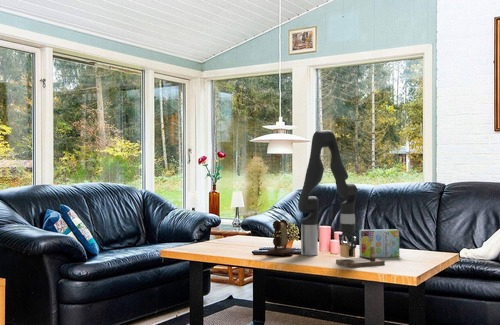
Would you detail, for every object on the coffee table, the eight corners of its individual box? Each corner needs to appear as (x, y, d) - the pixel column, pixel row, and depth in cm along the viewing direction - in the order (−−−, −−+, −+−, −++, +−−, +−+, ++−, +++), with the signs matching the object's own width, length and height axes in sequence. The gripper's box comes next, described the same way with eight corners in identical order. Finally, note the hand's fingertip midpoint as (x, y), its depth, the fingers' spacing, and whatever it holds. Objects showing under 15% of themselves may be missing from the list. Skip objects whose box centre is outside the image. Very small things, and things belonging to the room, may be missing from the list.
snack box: (396, 255, 310) (396, 228, 310) (399, 257, 304) (399, 229, 304) (359, 256, 309) (359, 229, 309) (361, 257, 303) (361, 230, 303)
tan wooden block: (340, 256, 284) (340, 244, 284) (349, 255, 286) (349, 244, 286) (346, 257, 279) (346, 246, 279) (355, 257, 281) (355, 245, 281)
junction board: (336, 263, 284) (335, 245, 284) (368, 260, 292) (368, 243, 292) (350, 267, 271) (350, 249, 271) (384, 264, 279) (384, 247, 279)
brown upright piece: (284, 258, 303) (283, 221, 303) (262, 255, 312) (262, 220, 312) (298, 254, 314) (298, 219, 315) (277, 252, 323) (276, 218, 324)
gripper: (333, 221, 288) (334, 253, 288) (349, 224, 275) (349, 258, 274) (346, 220, 291) (346, 253, 291) (361, 223, 277) (361, 257, 277)
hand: (347, 255), depth 282 cm, fingers closed on tan wooden block, 5 cm apart
